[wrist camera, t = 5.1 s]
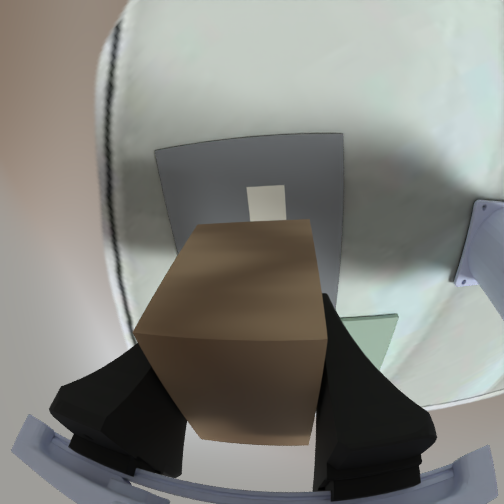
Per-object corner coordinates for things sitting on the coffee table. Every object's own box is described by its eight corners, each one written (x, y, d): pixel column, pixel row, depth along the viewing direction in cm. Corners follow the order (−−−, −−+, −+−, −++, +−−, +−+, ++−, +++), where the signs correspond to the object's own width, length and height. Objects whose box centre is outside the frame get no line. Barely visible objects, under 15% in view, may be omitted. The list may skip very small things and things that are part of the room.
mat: (397, 314, 22) (398, 317, 21) (371, 385, 28) (371, 387, 27) (264, 320, 23) (264, 323, 23) (271, 390, 29) (271, 393, 29)
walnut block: (309, 219, 10) (327, 339, 5) (306, 340, 14) (308, 445, 9) (197, 224, 11) (132, 332, 6) (224, 340, 15) (201, 439, 10)
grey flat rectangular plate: (342, 133, 15) (343, 133, 15) (334, 310, 22) (335, 312, 22) (156, 150, 17) (154, 150, 16) (195, 311, 24) (195, 313, 24)
